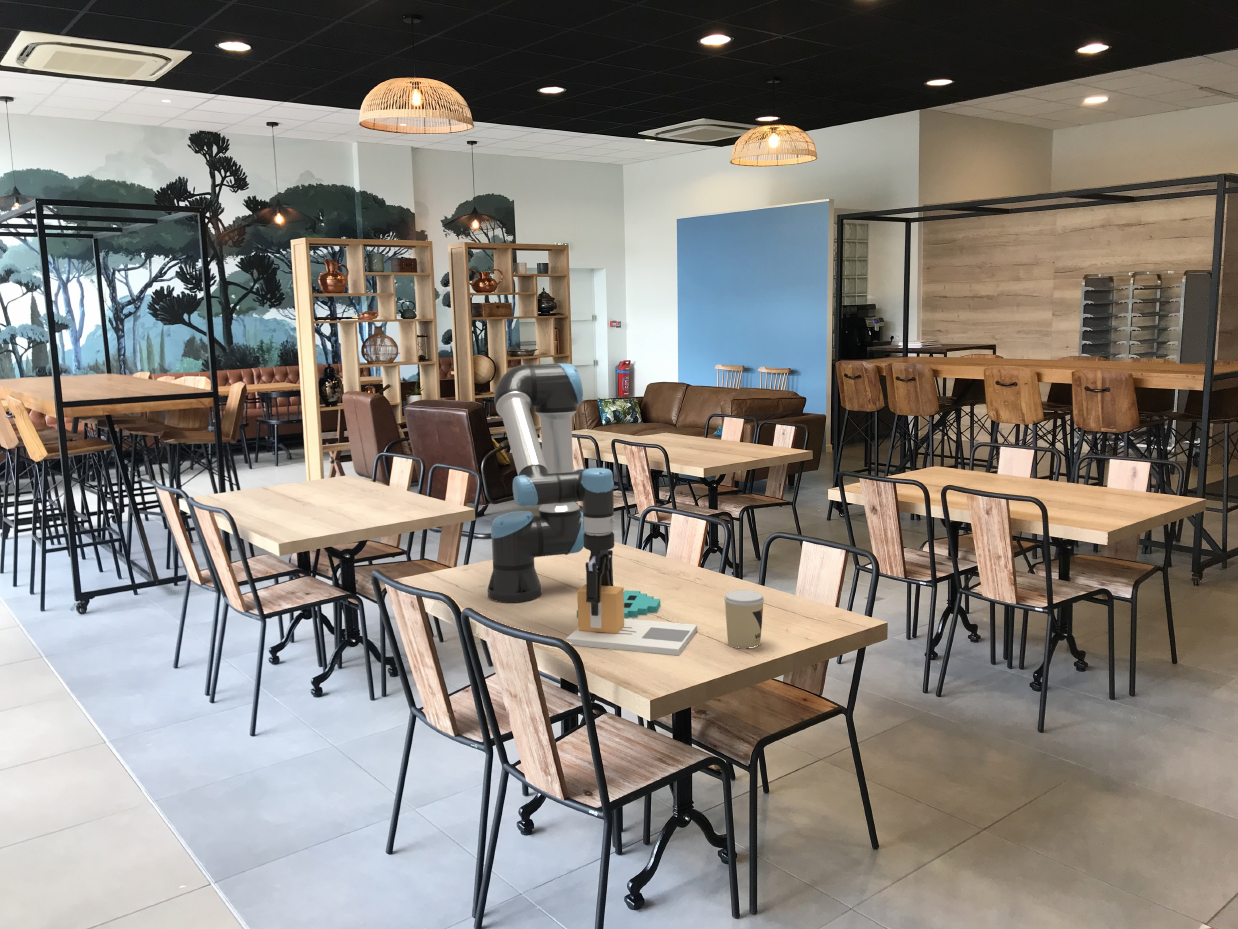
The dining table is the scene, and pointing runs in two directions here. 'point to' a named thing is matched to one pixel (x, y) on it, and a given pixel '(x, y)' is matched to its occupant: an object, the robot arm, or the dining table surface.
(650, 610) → the alien figure
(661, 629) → the painted board
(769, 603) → the dining table surface
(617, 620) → the tan rectangular block
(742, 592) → the coffee cup
